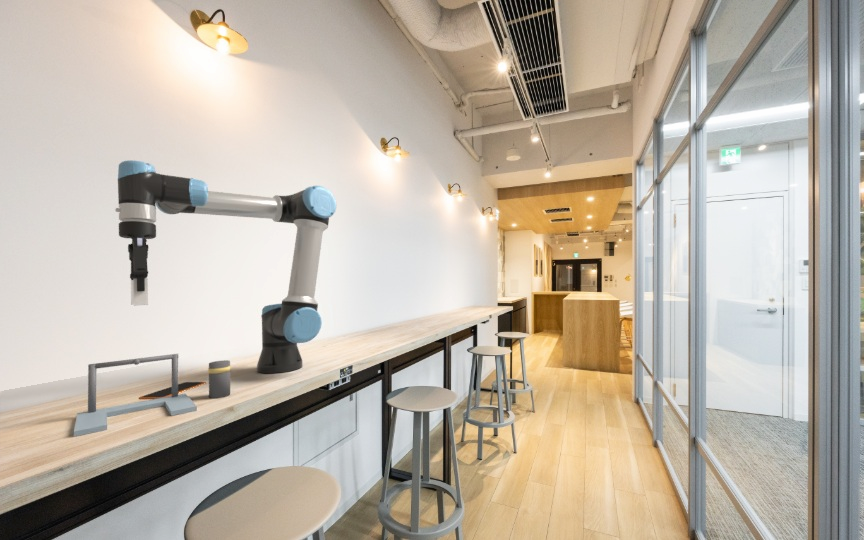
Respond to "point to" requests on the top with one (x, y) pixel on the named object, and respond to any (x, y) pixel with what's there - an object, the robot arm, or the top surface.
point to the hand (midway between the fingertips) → (139, 305)
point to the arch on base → (98, 418)
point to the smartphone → (168, 391)
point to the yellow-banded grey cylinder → (219, 379)
